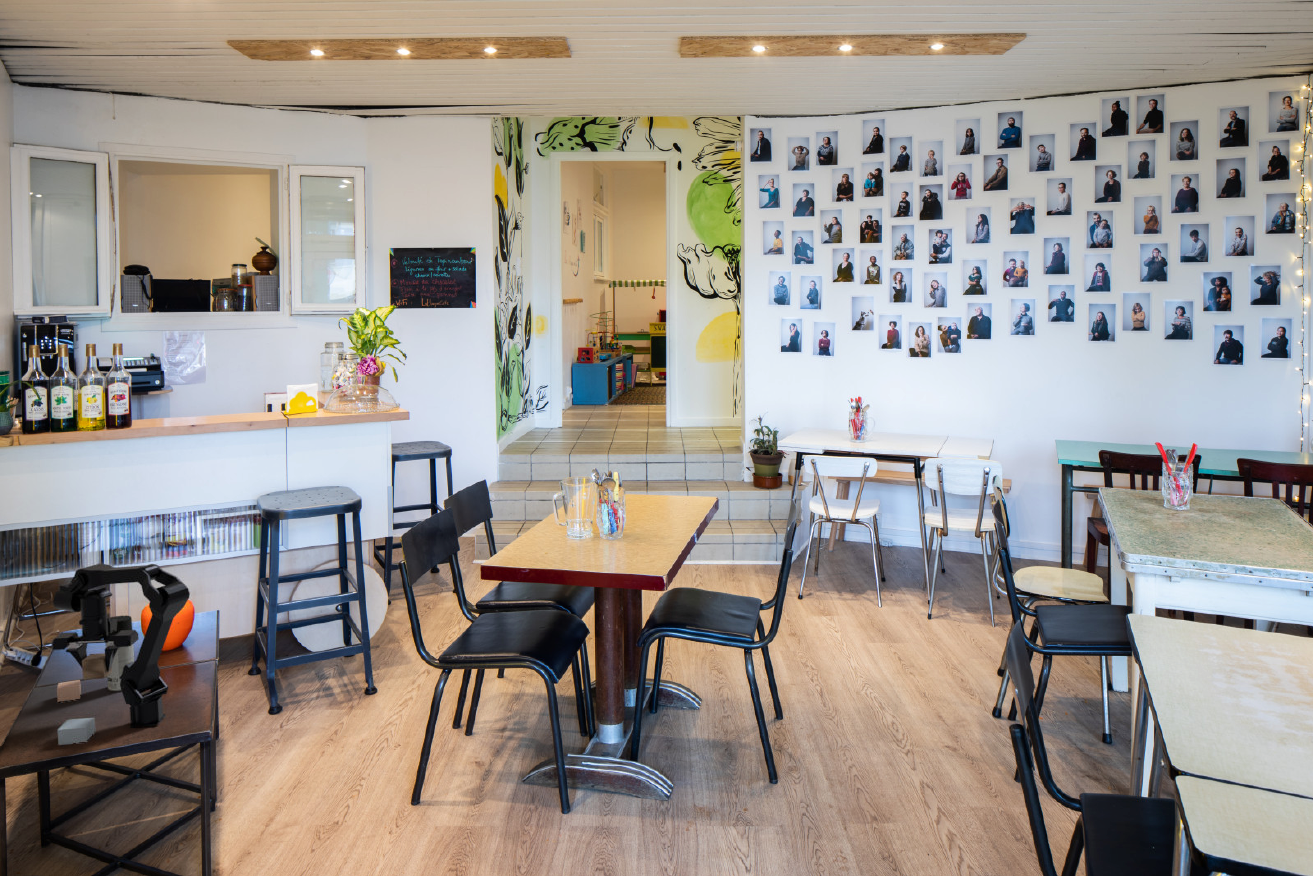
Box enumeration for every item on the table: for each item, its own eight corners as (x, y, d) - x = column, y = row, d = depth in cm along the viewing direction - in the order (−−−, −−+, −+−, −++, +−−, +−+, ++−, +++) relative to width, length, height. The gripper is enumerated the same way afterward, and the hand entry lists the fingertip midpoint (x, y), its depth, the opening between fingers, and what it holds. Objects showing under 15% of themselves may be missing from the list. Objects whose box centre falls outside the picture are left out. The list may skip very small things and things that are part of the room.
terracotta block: (81, 693, 252) (80, 679, 251) (79, 700, 247) (78, 686, 247) (59, 697, 249) (58, 683, 249) (57, 703, 245) (56, 689, 244)
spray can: (110, 684, 258) (106, 616, 256) (137, 681, 260) (133, 613, 258) (105, 693, 252) (101, 623, 249) (133, 690, 254) (129, 620, 252)
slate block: (95, 733, 227) (94, 717, 227) (86, 743, 221) (85, 727, 221) (68, 735, 226) (67, 719, 226) (58, 745, 220) (57, 730, 220)
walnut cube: (112, 671, 239) (111, 653, 239) (104, 678, 235) (103, 659, 234) (91, 672, 239) (90, 654, 238) (83, 679, 234) (81, 660, 233)
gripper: (144, 602, 244) (147, 658, 246) (69, 605, 241) (72, 662, 243) (128, 615, 233) (131, 674, 235) (48, 618, 230) (52, 677, 232)
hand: (97, 671), depth 236 cm, fingers closed on walnut cube, 5 cm apart
